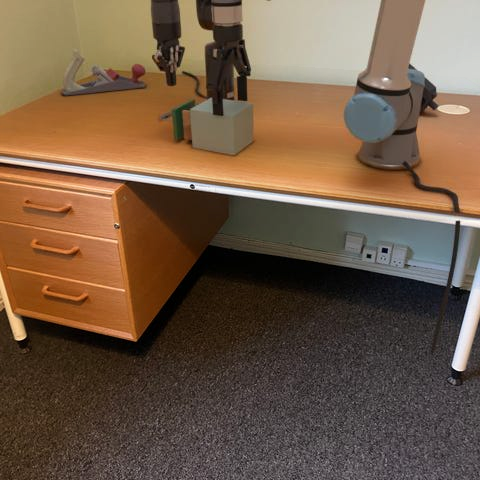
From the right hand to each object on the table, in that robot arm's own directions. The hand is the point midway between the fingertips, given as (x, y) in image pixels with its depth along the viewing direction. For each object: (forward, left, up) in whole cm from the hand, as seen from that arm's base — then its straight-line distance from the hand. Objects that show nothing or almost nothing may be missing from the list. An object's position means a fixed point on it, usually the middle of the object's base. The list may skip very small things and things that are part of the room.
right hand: (230, 107), depth 143 cm
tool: (+26, -57, -11) cm, 63 cm away
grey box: (+1, +2, -11) cm, 11 cm away
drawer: (+7, +11, -10) cm, 16 cm away
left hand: (+9, +16, +4) cm, 19 cm away
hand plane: (+60, +45, -11) cm, 76 cm away
